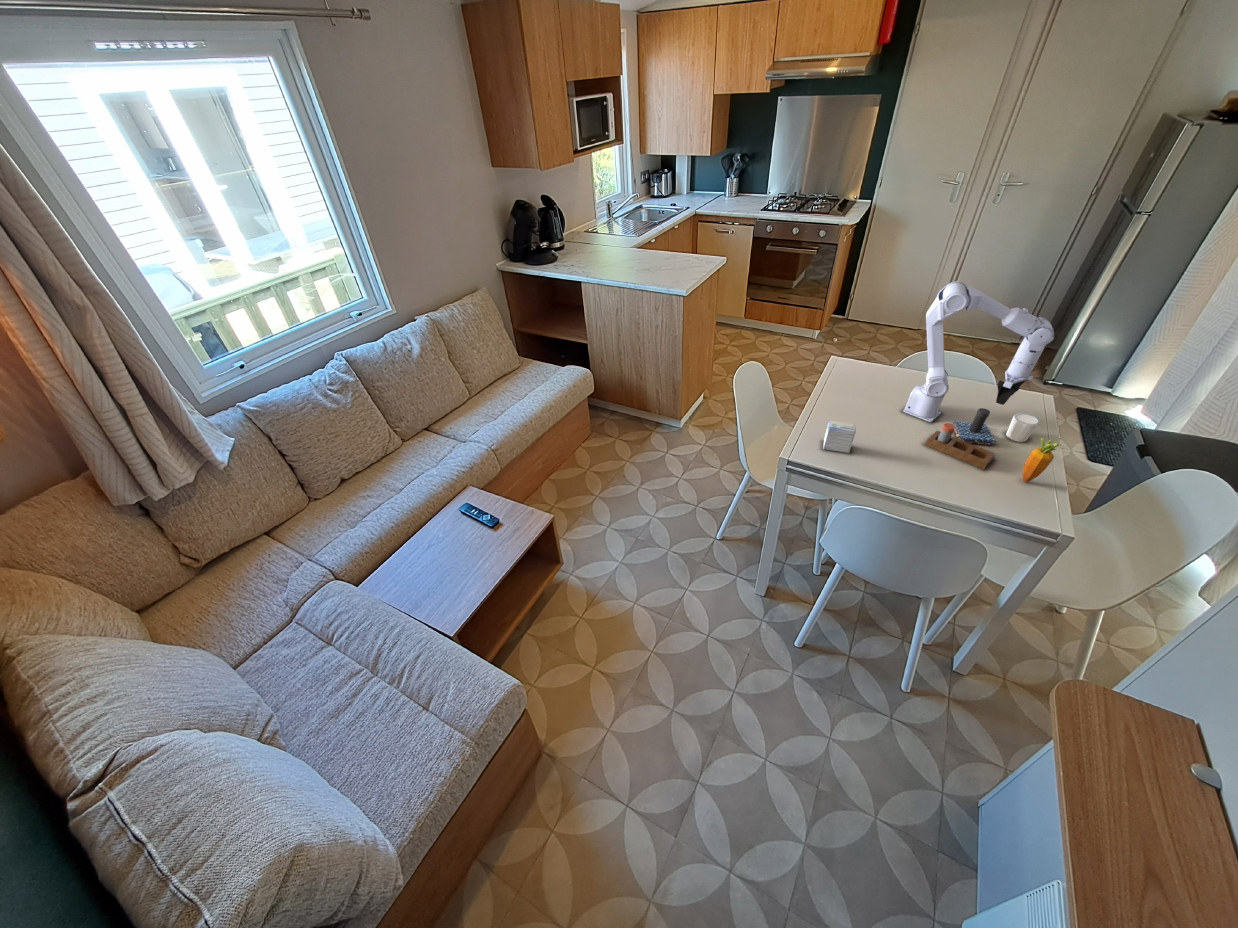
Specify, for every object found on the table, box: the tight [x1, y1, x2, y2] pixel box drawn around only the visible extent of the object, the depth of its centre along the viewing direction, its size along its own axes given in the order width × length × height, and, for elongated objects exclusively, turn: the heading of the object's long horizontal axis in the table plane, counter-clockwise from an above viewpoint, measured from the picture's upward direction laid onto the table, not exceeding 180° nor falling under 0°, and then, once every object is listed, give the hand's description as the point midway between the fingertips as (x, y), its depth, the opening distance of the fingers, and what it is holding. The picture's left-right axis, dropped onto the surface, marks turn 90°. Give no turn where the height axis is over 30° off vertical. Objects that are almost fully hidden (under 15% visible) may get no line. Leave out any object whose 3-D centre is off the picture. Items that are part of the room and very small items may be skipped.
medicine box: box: [822, 420, 857, 454], centre depth 156 cm, size 8×4×9 cm, turn 71°
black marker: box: [969, 407, 991, 433], centre depth 156 cm, size 3×3×8 cm
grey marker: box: [937, 422, 955, 444], centre depth 154 cm, size 3×3×8 cm
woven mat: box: [951, 420, 996, 446], centre depth 159 cm, size 10×11×2 cm
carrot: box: [1022, 438, 1060, 483], centre depth 137 cm, size 5×5×15 cm
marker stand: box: [925, 430, 996, 470], centre depth 153 cm, size 17×7×2 cm, turn 41°
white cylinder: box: [1005, 412, 1041, 443], centre depth 156 cm, size 7×7×7 cm
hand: (1004, 398), depth 157 cm, fingers open, 7 cm apart
